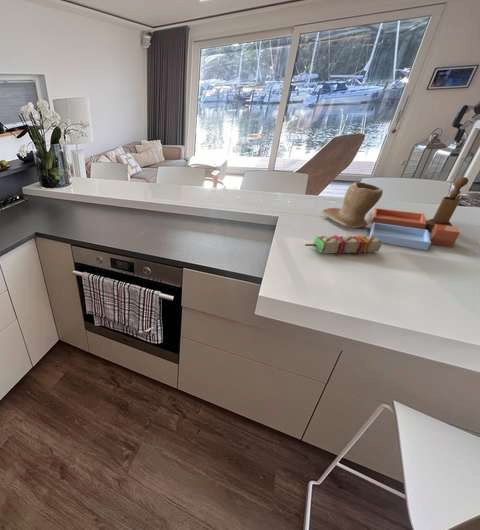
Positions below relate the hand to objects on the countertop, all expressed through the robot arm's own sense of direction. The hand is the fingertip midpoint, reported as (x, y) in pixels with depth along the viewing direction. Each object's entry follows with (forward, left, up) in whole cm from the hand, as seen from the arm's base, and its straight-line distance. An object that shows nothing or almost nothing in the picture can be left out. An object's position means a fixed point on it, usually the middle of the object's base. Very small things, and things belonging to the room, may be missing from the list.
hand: (477, 142), depth 86 cm
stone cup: (+24, +6, -29) cm, 38 cm away
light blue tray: (+10, +15, -28) cm, 33 cm away
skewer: (+24, +34, -29) cm, 50 cm away
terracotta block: (-1, +12, -28) cm, 31 cm away
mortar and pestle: (-1, 0, -29) cm, 29 cm away
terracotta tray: (+10, -2, -28) cm, 30 cm away
